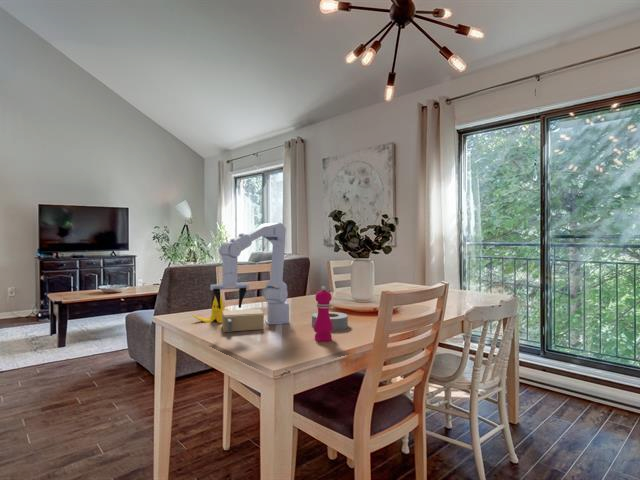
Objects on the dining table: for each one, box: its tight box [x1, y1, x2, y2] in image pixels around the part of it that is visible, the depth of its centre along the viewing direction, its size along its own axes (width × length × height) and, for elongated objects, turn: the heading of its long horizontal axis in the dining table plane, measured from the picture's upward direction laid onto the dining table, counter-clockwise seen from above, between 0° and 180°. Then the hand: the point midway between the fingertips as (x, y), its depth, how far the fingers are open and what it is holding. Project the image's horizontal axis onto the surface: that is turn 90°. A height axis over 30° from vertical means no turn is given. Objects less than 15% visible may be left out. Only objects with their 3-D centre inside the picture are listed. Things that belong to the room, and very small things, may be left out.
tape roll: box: [311, 311, 349, 332], centre depth 167 cm, size 15×15×5 cm
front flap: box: [223, 313, 265, 333], centre depth 155 cm, size 16×6×6 cm, turn 107°
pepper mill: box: [313, 285, 333, 343], centre depth 146 cm, size 7×7×20 cm
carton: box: [221, 308, 265, 332], centre depth 163 cm, size 16×10×7 cm, turn 107°
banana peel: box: [192, 294, 229, 324], centre depth 178 cm, size 17×19×17 cm
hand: (229, 307), depth 152 cm, fingers open, 7 cm apart
